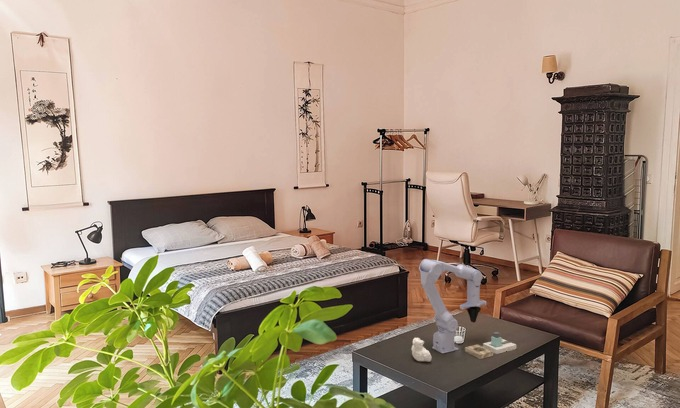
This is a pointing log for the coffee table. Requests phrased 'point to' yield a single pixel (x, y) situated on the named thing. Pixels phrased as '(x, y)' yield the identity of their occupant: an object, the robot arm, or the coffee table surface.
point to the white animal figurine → (420, 351)
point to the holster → (482, 354)
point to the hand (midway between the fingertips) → (473, 321)
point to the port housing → (503, 348)
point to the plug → (496, 340)
